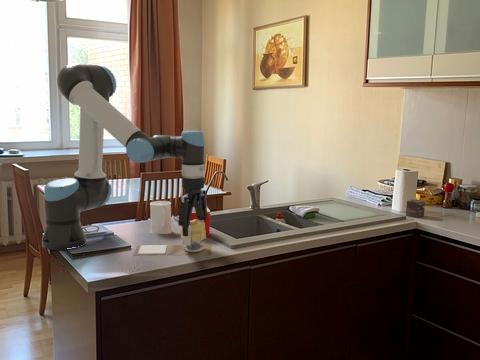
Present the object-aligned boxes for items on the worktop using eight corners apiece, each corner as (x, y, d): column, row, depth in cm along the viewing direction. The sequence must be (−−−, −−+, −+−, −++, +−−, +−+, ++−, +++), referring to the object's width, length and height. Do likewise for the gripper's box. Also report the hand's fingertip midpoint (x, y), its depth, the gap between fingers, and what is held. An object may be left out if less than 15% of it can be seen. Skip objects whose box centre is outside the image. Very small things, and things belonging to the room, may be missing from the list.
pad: (137, 254, 159) (137, 253, 159) (141, 246, 168) (141, 245, 168) (165, 254, 160) (165, 253, 160) (166, 246, 169) (166, 244, 169)
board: (133, 259, 158) (132, 255, 158) (137, 248, 169) (137, 245, 169) (211, 257, 160) (211, 254, 160) (210, 247, 171) (210, 244, 171)
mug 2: (186, 234, 188) (186, 208, 186) (206, 232, 190) (206, 207, 188) (191, 243, 176) (191, 215, 174) (213, 241, 178) (213, 214, 177)
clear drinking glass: (183, 253, 161) (182, 233, 160) (183, 246, 168) (183, 228, 167) (203, 252, 162) (203, 233, 161) (203, 246, 169) (203, 227, 168)
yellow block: (197, 242, 159) (197, 224, 158) (177, 239, 162) (177, 222, 161) (209, 236, 166) (209, 219, 165) (189, 233, 170) (189, 216, 169)
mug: (174, 236, 184) (174, 206, 182) (152, 238, 182) (151, 207, 180) (170, 228, 195) (169, 200, 193) (149, 230, 193) (148, 201, 191)
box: (417, 218, 217) (418, 202, 216) (405, 215, 222) (406, 200, 221) (424, 216, 221) (425, 201, 220) (412, 213, 226) (413, 198, 224)
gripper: (186, 182, 150) (186, 251, 154) (217, 173, 168) (217, 235, 172) (166, 180, 153) (167, 248, 157) (199, 171, 171) (199, 232, 175)
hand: (193, 241), depth 164 cm, fingers closed on yellow block, 8 cm apart
